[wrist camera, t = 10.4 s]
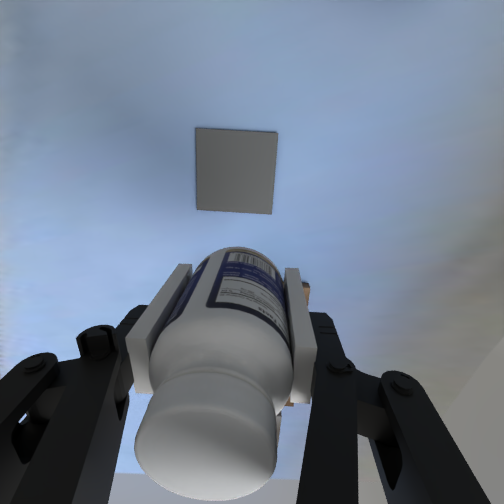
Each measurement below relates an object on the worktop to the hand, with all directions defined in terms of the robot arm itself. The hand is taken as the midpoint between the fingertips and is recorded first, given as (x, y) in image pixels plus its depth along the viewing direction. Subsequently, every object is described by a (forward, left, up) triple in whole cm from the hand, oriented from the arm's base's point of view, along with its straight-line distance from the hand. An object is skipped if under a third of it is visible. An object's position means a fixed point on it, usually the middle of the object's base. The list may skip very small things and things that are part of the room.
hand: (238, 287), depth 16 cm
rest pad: (-5, -2, -15) cm, 16 cm away
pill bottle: (0, 0, -1) cm, 1 cm away
